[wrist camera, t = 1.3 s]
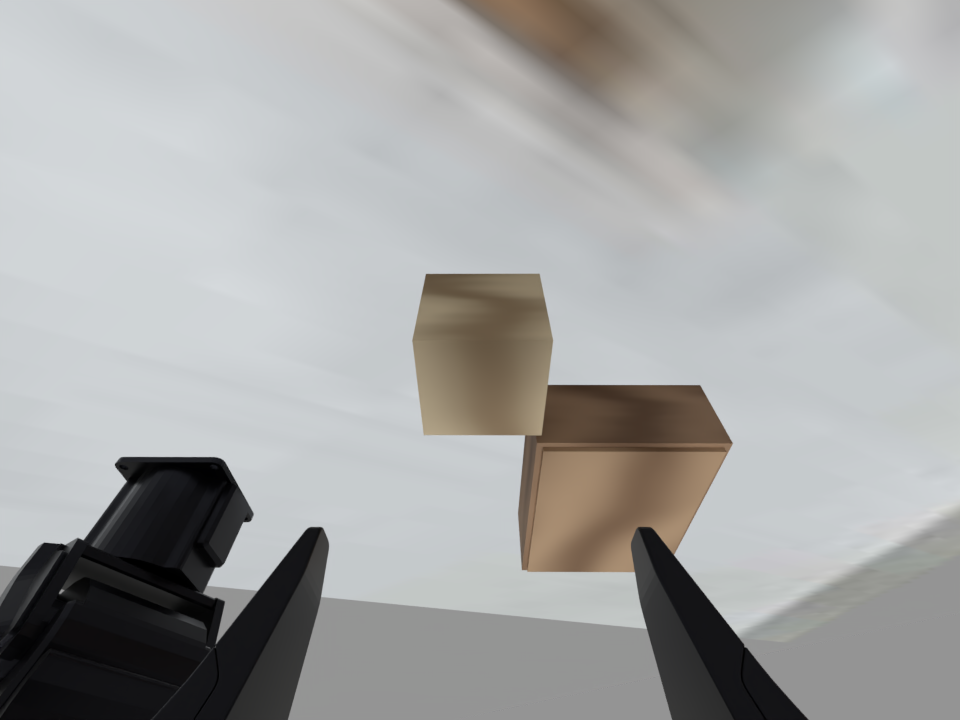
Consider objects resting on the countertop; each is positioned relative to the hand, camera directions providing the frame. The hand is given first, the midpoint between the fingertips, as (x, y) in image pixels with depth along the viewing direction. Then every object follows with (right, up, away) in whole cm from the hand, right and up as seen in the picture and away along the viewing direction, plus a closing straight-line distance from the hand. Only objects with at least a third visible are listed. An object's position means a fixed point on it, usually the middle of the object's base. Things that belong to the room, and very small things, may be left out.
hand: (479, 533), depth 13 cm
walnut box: (+7, -1, +15) cm, 16 cm away
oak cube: (0, +7, +8) cm, 11 cm away
